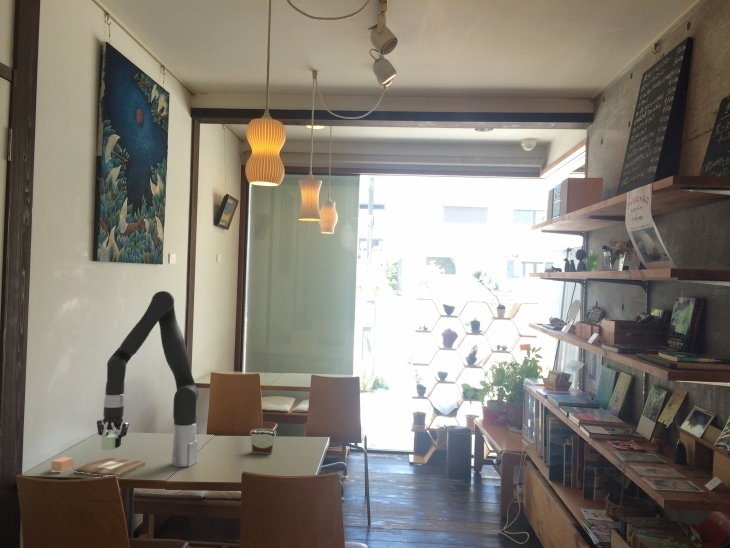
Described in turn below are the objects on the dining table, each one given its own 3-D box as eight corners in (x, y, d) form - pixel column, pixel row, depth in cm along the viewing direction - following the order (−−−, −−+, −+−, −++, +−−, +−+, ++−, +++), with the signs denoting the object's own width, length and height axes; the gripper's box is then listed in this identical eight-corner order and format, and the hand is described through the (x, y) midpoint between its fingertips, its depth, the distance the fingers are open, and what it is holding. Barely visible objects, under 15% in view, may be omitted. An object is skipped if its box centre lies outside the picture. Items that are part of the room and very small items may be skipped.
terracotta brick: (73, 469, 216) (73, 457, 216) (61, 473, 210) (61, 462, 210) (63, 467, 217) (63, 456, 217) (50, 472, 211) (51, 460, 212)
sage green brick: (121, 446, 220) (122, 435, 220) (111, 450, 214) (112, 439, 214) (110, 445, 221) (111, 434, 221) (101, 449, 215) (101, 437, 215)
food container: (278, 450, 251) (279, 428, 251) (274, 454, 245) (275, 432, 245) (253, 448, 252) (253, 427, 253) (249, 452, 246) (249, 430, 246)
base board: (144, 465, 223) (145, 461, 223) (118, 478, 206) (118, 474, 207) (103, 460, 227) (103, 456, 227) (74, 473, 211) (74, 469, 211)
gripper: (135, 404, 220) (132, 445, 220) (105, 401, 223) (102, 442, 223) (123, 408, 213) (120, 450, 212) (92, 405, 216) (89, 447, 215)
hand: (111, 446), depth 217 cm, fingers closed on sage green brick, 5 cm apart
